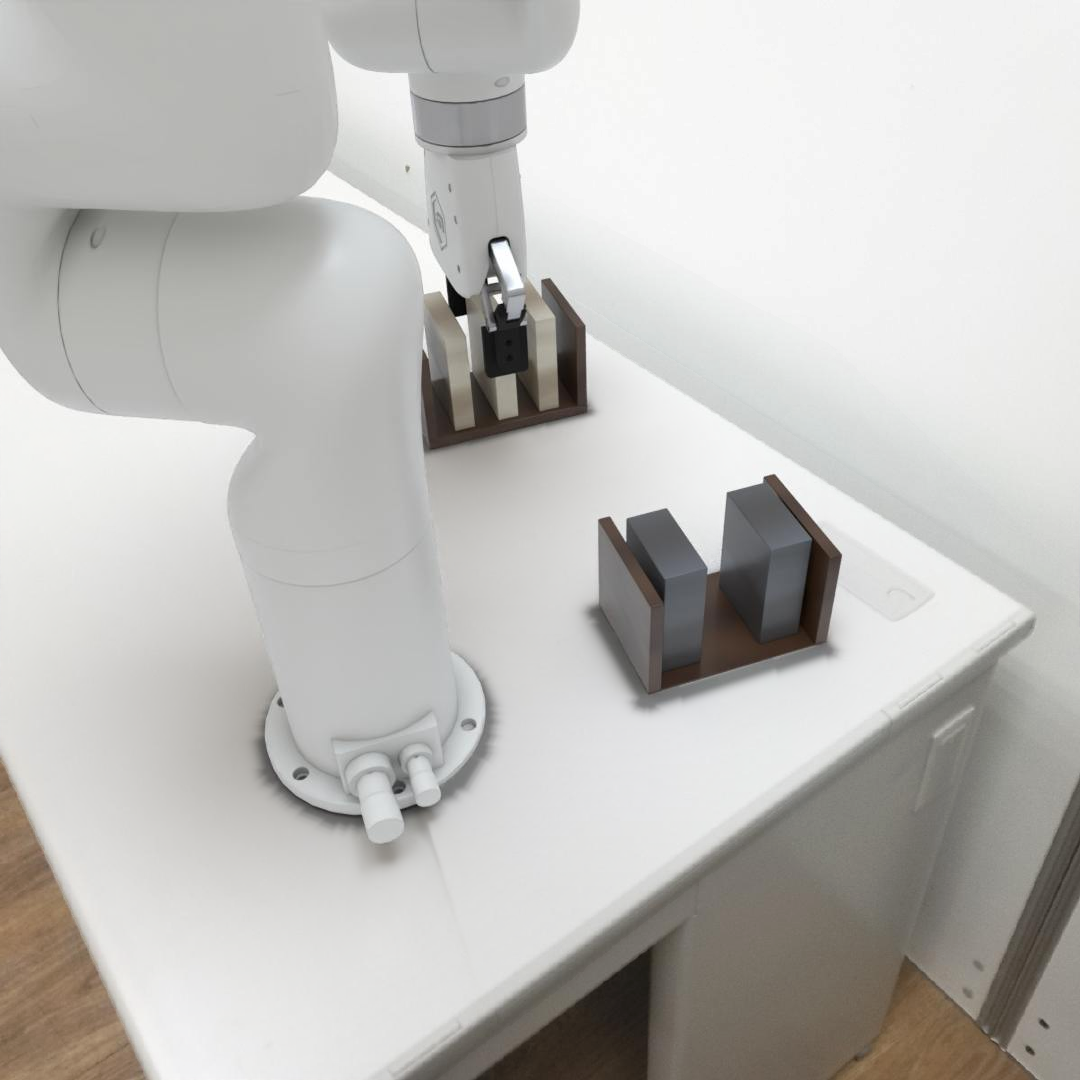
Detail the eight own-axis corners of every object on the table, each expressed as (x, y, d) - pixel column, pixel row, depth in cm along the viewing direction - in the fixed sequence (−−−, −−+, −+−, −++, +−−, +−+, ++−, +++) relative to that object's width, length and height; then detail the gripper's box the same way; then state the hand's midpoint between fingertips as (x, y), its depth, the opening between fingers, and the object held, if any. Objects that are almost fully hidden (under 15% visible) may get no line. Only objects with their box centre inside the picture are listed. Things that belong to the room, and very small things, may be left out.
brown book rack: (587, 412, 87) (585, 313, 82) (429, 449, 85) (416, 349, 79) (553, 361, 93) (549, 265, 87) (405, 395, 90) (390, 297, 84)
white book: (518, 416, 86) (512, 324, 81) (498, 420, 86) (491, 329, 80) (491, 369, 91) (483, 280, 86) (472, 373, 91) (463, 284, 86)
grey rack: (825, 650, 67) (844, 546, 62) (648, 703, 65) (651, 599, 59) (763, 567, 73) (775, 465, 68) (598, 612, 71) (597, 510, 65)
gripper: (385, 82, 79) (412, 300, 90) (449, 168, 66) (471, 410, 77) (486, 67, 81) (500, 283, 92) (567, 148, 68) (573, 388, 79)
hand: (487, 341), depth 84 cm, fingers open, 9 cm apart
